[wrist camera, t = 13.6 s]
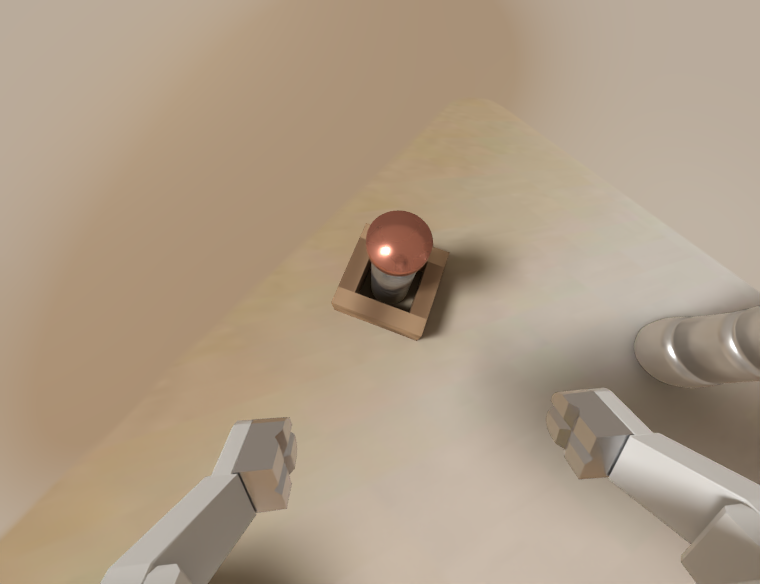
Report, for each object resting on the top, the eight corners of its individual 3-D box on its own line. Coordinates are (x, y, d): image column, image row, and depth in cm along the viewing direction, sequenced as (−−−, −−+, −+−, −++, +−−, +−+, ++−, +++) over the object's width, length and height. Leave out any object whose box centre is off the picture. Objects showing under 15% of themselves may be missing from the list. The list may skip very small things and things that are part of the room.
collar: (442, 263, 33) (449, 252, 30) (416, 340, 30) (421, 336, 27) (366, 236, 33) (366, 223, 31) (334, 309, 31) (331, 302, 28)
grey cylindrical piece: (418, 274, 32) (441, 223, 22) (403, 314, 31) (420, 281, 20) (376, 259, 33) (380, 202, 22) (360, 298, 31) (355, 257, 21)
